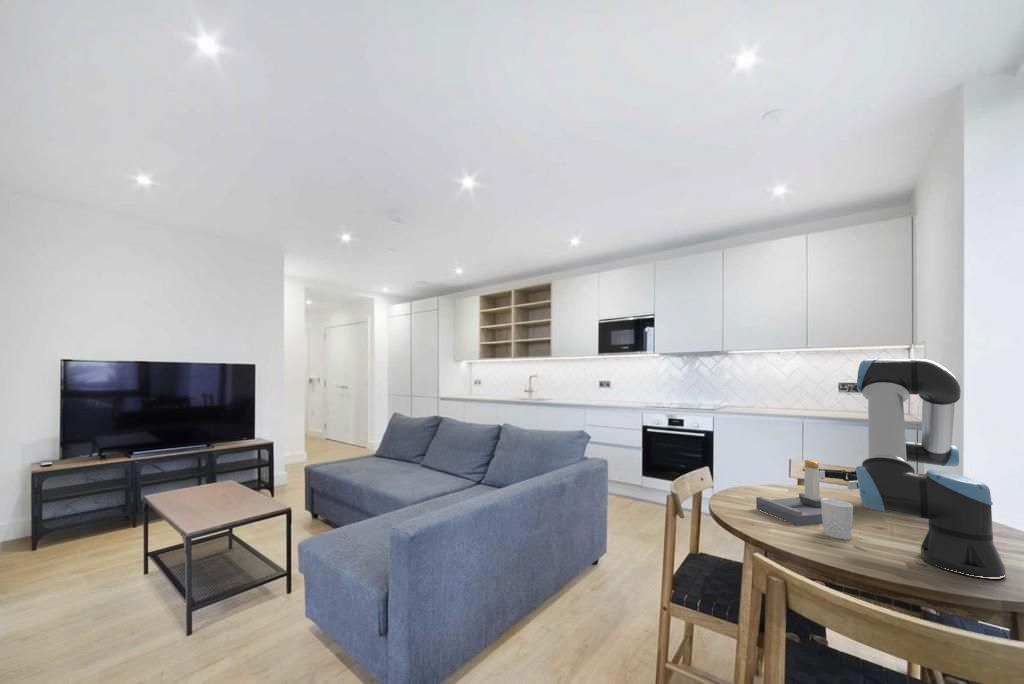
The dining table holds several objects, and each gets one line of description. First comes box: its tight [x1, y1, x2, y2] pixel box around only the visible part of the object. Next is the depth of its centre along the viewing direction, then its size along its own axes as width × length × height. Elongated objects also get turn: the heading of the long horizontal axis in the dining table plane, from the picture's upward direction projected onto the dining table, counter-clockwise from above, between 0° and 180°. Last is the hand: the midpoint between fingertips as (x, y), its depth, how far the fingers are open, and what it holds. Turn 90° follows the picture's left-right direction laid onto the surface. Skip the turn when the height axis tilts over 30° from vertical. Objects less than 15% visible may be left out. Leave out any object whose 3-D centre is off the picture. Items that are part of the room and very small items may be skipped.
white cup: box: [820, 498, 854, 541], centre depth 129 cm, size 8×8×10 cm
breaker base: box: [755, 492, 823, 527], centre depth 146 cm, size 16×22×4 cm
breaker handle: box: [800, 459, 822, 507], centre depth 148 cm, size 6×4×15 cm, turn 16°
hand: (829, 480), depth 151 cm, fingers open, 13 cm apart
